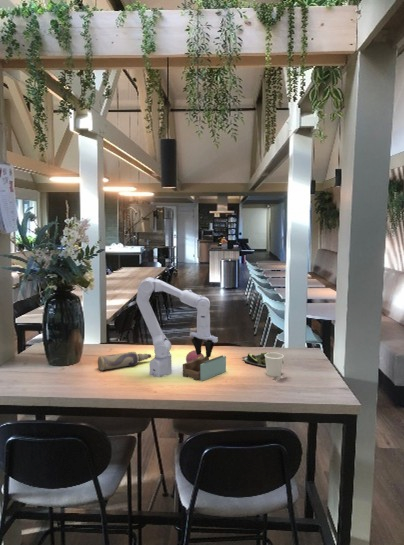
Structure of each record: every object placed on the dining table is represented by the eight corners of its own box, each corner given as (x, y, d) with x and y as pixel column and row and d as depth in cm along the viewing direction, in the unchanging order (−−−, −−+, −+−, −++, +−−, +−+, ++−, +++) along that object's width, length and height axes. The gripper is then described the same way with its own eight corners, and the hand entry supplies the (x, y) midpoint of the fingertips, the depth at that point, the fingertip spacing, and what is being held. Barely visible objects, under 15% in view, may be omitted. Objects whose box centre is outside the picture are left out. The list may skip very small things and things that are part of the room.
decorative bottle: (102, 373, 198) (101, 358, 197) (97, 368, 204) (96, 354, 203) (154, 364, 210) (154, 350, 210) (148, 360, 217) (148, 346, 216)
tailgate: (201, 381, 182) (201, 363, 181) (200, 380, 182) (200, 362, 181) (225, 371, 194) (225, 354, 193) (224, 371, 194) (224, 354, 193)
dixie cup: (269, 381, 185) (269, 358, 184) (261, 375, 193) (261, 353, 192) (286, 379, 187) (287, 357, 186) (278, 373, 195) (278, 351, 194)
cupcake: (203, 353, 208) (207, 347, 197) (202, 371, 205) (206, 366, 194) (185, 351, 207) (188, 345, 197) (184, 369, 204) (186, 364, 193)
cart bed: (198, 384, 182) (198, 369, 181) (181, 379, 189) (181, 364, 188) (225, 373, 195) (225, 359, 194) (208, 369, 202) (208, 355, 201)
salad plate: (262, 354, 226) (262, 345, 226) (291, 361, 214) (291, 352, 213) (237, 362, 213) (237, 353, 213) (266, 370, 200) (266, 360, 200)
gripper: (222, 325, 188) (222, 356, 189) (197, 321, 197) (197, 350, 199) (211, 328, 182) (211, 360, 184) (186, 323, 192) (186, 354, 193)
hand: (203, 355), depth 191 cm, fingers open, 5 cm apart
